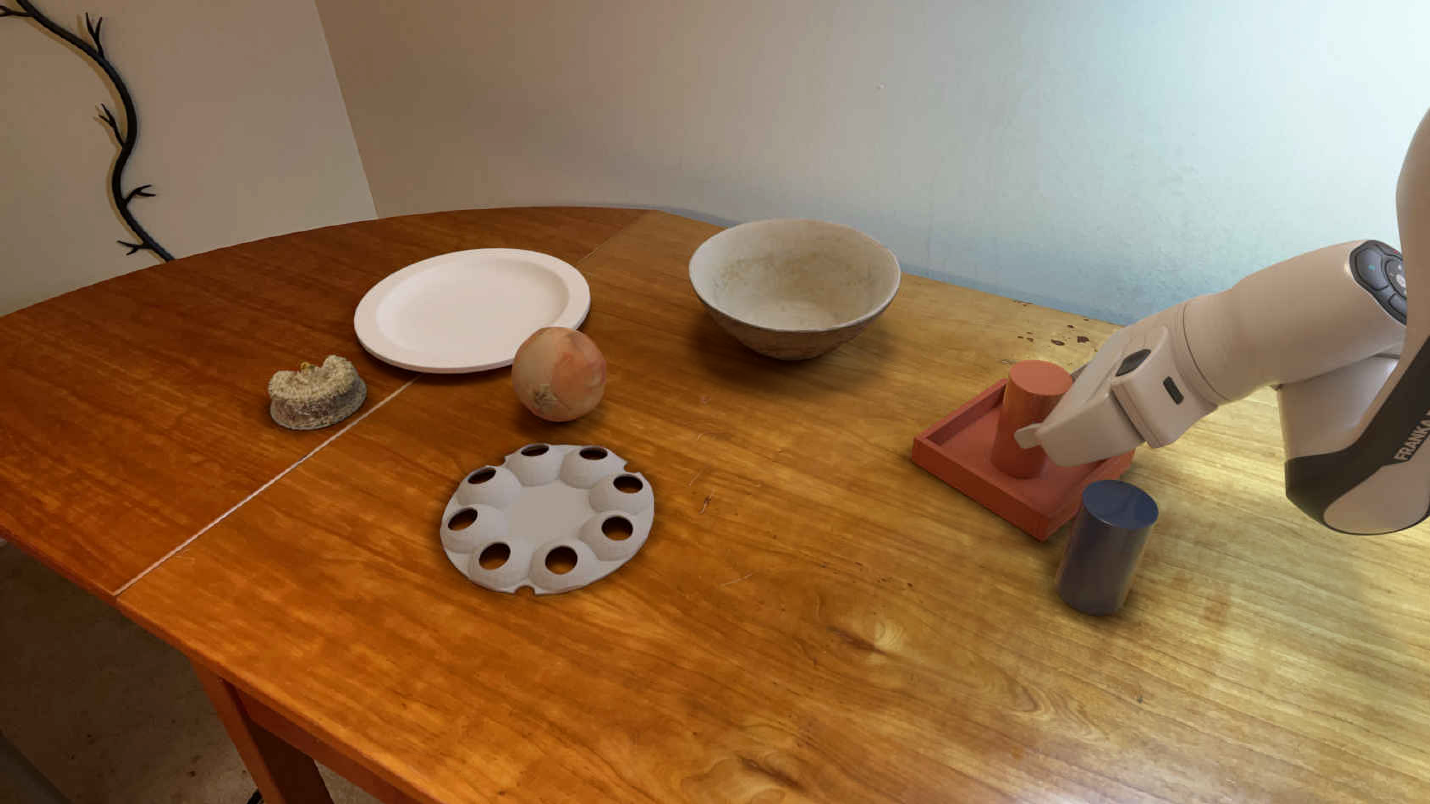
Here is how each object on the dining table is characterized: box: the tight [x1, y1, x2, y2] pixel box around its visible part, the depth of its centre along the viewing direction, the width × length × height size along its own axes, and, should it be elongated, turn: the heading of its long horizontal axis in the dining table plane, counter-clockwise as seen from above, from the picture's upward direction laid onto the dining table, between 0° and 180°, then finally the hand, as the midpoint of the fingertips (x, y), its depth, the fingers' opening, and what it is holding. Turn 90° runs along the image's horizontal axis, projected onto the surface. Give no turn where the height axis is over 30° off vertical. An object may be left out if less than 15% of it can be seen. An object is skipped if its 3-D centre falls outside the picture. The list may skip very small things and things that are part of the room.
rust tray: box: [910, 377, 1137, 543], centre depth 88 cm, size 15×15×3 cm
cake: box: [267, 354, 368, 431], centre depth 97 cm, size 10×10×5 cm
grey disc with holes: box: [439, 442, 655, 596], centre depth 84 cm, size 20×20×2 cm
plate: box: [353, 247, 591, 374], centre depth 111 cm, size 28×28×2 cm
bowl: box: [688, 218, 902, 362], centre depth 105 cm, size 24×24×10 cm
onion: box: [511, 327, 607, 423], centre depth 94 cm, size 10×10×10 cm
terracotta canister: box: [991, 359, 1073, 479], centre depth 86 cm, size 6×6×10 cm
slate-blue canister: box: [1054, 479, 1160, 616], centre depth 73 cm, size 6×6×10 cm
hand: (1040, 412), depth 85 cm, fingers open, 8 cm apart
